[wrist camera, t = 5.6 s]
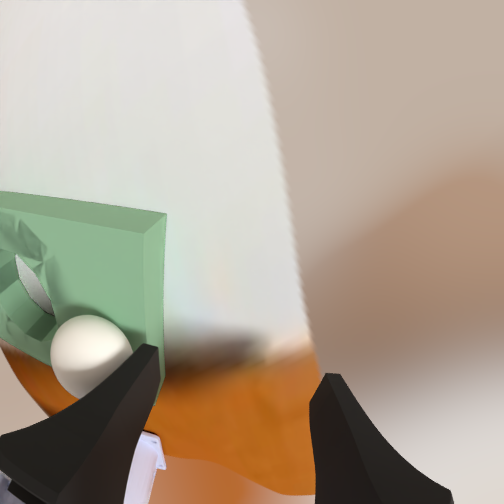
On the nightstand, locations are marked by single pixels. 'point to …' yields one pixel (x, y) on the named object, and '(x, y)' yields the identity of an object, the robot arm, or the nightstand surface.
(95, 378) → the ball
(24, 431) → the robot arm
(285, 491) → the nightstand surface
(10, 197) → the green
